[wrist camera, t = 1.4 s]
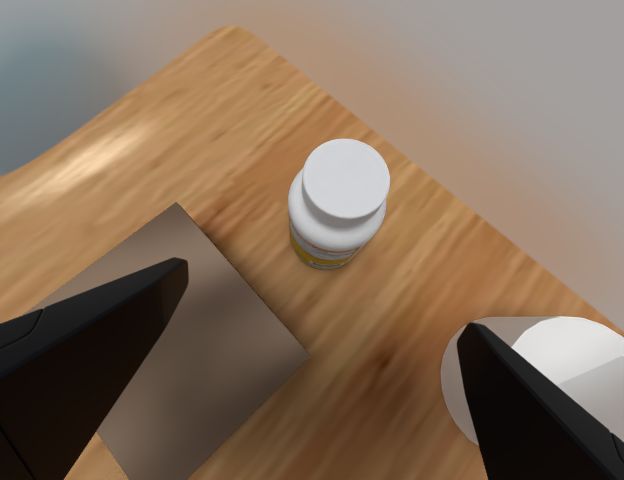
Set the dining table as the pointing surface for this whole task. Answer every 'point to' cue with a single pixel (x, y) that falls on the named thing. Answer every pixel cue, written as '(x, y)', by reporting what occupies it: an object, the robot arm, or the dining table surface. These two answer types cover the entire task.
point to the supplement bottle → (337, 202)
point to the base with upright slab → (552, 365)
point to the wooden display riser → (190, 354)
